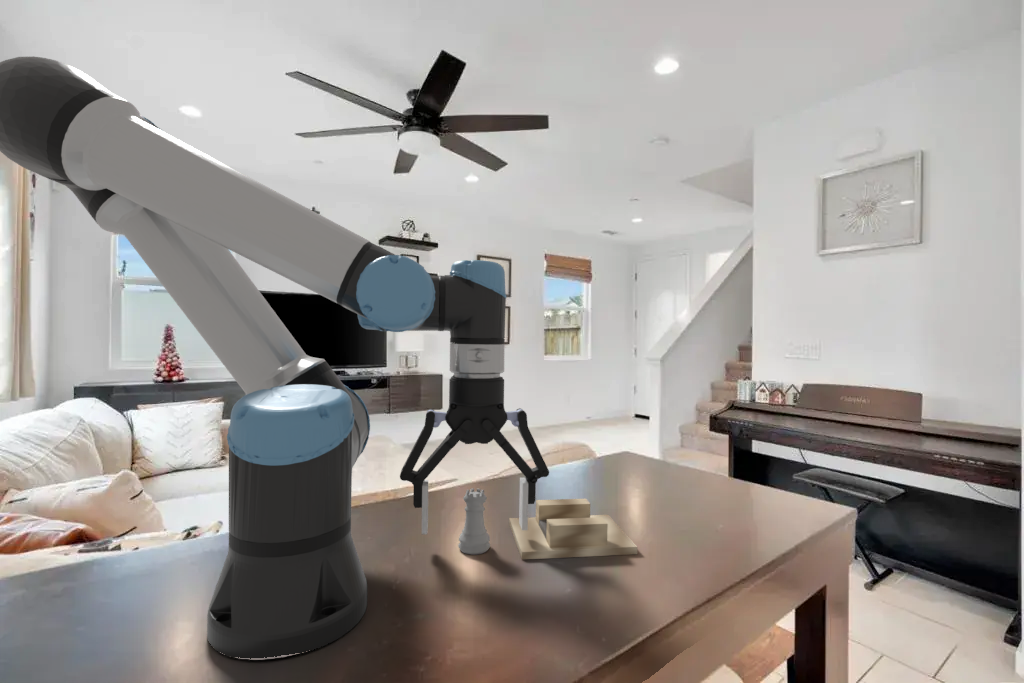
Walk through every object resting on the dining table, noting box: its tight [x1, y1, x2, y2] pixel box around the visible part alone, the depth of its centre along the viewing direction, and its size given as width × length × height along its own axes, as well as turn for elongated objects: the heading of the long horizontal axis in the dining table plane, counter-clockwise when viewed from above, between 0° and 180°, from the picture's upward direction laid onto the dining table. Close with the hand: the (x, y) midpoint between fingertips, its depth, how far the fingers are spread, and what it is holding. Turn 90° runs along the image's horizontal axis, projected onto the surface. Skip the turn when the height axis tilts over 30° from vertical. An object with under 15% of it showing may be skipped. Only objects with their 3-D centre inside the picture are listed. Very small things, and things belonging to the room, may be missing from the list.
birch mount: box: [508, 498, 638, 561], centre depth 73 cm, size 16×12×4 cm
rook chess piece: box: [457, 487, 491, 556], centre depth 69 cm, size 4×4×8 cm
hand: (474, 528), depth 69 cm, fingers open, 13 cm apart
